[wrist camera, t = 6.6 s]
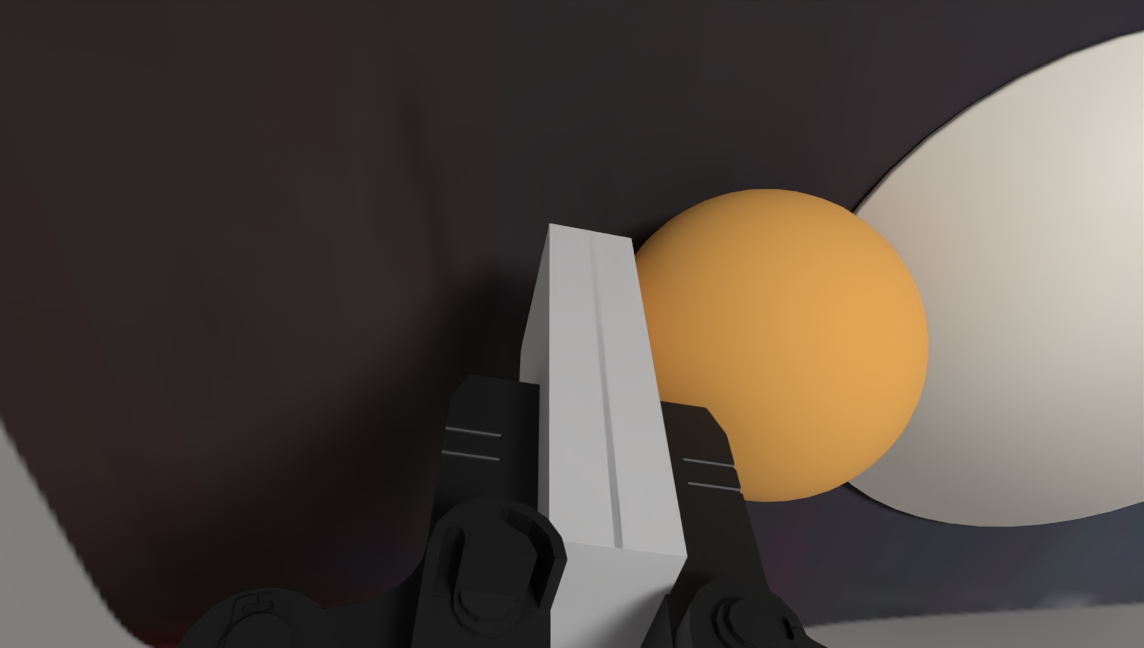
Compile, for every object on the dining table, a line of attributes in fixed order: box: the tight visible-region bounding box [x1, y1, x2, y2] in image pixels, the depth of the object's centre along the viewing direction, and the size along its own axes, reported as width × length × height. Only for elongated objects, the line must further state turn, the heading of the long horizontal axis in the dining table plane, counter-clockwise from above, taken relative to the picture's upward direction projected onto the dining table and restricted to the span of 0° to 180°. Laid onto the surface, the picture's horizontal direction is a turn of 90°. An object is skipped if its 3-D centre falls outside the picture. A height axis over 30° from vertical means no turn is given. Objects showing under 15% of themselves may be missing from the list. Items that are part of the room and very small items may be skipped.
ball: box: [634, 189, 928, 502], centre depth 14 cm, size 6×6×6 cm
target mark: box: [848, 30, 1144, 527], centre depth 17 cm, size 13×13×1 cm
